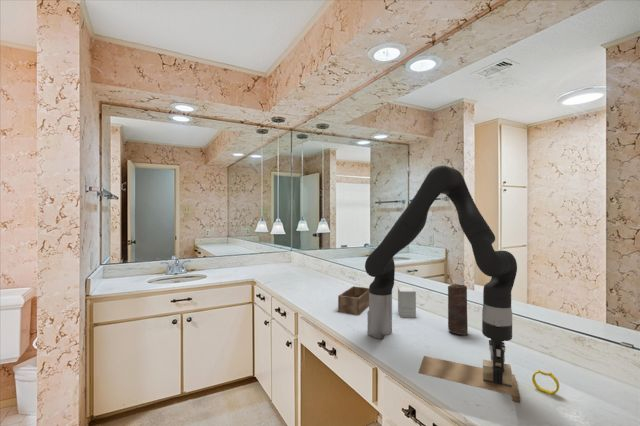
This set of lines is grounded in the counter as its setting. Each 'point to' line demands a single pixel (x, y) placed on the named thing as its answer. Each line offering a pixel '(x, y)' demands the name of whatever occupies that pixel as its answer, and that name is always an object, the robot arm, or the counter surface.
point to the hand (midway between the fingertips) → (496, 375)
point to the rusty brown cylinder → (457, 309)
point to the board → (465, 375)
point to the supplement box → (407, 302)
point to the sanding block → (489, 373)
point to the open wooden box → (353, 300)
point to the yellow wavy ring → (547, 373)
